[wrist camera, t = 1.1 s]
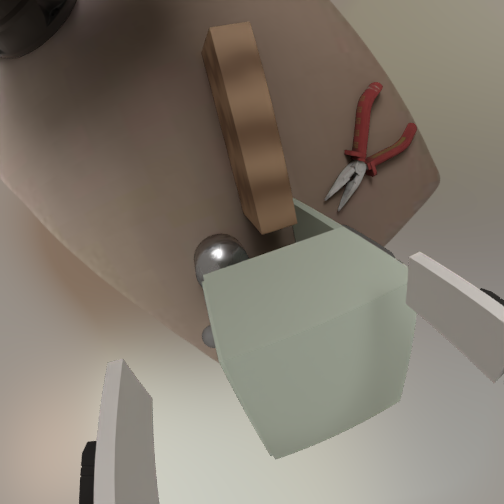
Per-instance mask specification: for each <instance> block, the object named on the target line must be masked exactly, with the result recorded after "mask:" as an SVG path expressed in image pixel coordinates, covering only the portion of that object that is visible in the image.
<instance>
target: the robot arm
mask: <svg viewBox="0 0 504 504" xmlns="http://www.w3.org/2000/svg"><path fill="white" fill-rule="evenodd" d="M75 2H76V0H0V57H3V58H9V59H10V58H17V57H20V56H23V55H25V54H28V53H29V52H31V51H33V50H35V49H36V48H38V47H39V46H41V45H42V44H43V43H44V42H46V41H47V40H48V39H49V38H50V37H51V36H52V35H53V34H54V33H55V32H56V31H57V30H58V29H59V28H60V27H61V25H62V24H63V23H64V22H65V20H66V19H67V17H68V16H69V14H70V12H71V11H72V9H73V7H74V4H75ZM406 304H407V305H408V306H409V307H410V308H411V309H413V310H414V311H415V312H416V313H417V314H418V315H420V316H421V317H422V318H423V319H424V320H426V321H427V322H428V323H429V324H430V325H431V326H432V327H434V328H435V329H436V330H437V331H438V332H439V333H440V334H441V335H443V336H444V337H445V338H446V339H447V340H448V341H449V342H450V343H451V344H453V345H454V346H455V347H456V348H457V349H458V350H459V351H460V352H461V353H463V354H464V355H465V356H466V357H467V358H468V359H469V360H470V361H471V362H472V363H473V364H474V365H475V366H476V367H477V368H478V369H480V370H481V371H482V372H483V373H484V374H485V375H486V376H487V377H488V378H489V379H490V380H491V381H492V382H493V383H495V382H496V381H497V380H498V379H499V378H500V377H501V376H502V375H503V374H504V300H503V299H500V297H498V296H497V295H496V294H494V293H493V292H491V291H488V290H485V289H482V288H481V289H478V288H477V287H475V286H474V285H472V284H471V283H469V282H468V281H466V280H464V279H463V278H462V277H460V276H459V275H457V274H455V273H454V272H452V271H451V270H449V269H448V268H446V267H444V266H443V265H441V264H439V263H438V262H436V261H434V260H433V259H431V258H430V257H428V256H426V255H425V254H423V253H421V252H418V253H416V254H414V255H412V256H410V257H409V265H408V281H407V294H406ZM152 411H153V409H152V397H151V396H150V395H149V393H148V392H147V391H146V389H145V388H144V387H143V386H142V384H141V383H140V382H139V380H138V379H137V378H136V376H135V375H134V373H133V372H132V371H131V370H130V368H129V366H128V365H127V364H126V362H125V361H124V359H119V360H115V361H111V362H108V363H107V369H106V374H105V380H104V386H103V392H102V400H101V406H100V415H99V422H98V431H97V441H91V442H87V444H86V447H85V449H84V451H83V453H82V462H81V466H82V468H81V474H80V475H81V477H80V495H79V504H159V498H158V489H157V479H156V468H155V454H154V438H153V412H152Z"/></svg>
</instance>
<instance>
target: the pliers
mask: <svg viewBox="0 0 504 504" xmlns="http://www.w3.org/2000/svg"><path fill="white" fill-rule="evenodd" d="M382 88H383V86H382V85H381V84H380V83H378V82H374V83H371V84H370V85H369V86H368V88H367V89H366V90H365V92H364V93H363V94H362V96H361V97H360V99H359V102H358V106H357V111H356V121H355V131H354V140H353V148H352V151H349V150H345V153H344V154H346V155H351V159H353V160H352V161H351V162H350V163H349V164H348V166H347V167H346V168H345V169H344V170H343V171H342V172H341V173H340V175H339V176H338V178H337V180H336V181H335V183H334V185H333V186H332V188H331V190H330V191H329V193H328V194H327V196H326V198H325V199H324V200H325V201H326V200H327V199H329V198H330V197H331V196H332V195H333V194H334V193H335V192H337V191H338V190H339V189H340V188H341V187H342V186H344V185H345V184H346V183H347V182H348V183H347V185H346V188H345V191H344V193H343V196H342V199H341V202H340V205H339V208H338V210H337V211H340V210H341V208H342V207H343V206H344V205H345V203H346V202H347V201H348V199H349V198H350V197H351V195H352V194H353V193H354V191H355V190H356V189H357V187H358V186H359V184H360V182H361V180H362V178H363V176H364V173H365V171H366V174H367V175H368V176H372V177H373V176H375V175H377V171H376V167H375V166H377V165H379V164H381V163H382V162H384V161H386V160H388V159H390V158H392V157H394V156H396V155H398V154H400V153H401V152H403V151H404V150H405V149H406V148H407V147H408V146H409V145H410V143H411V141H412V139H413V137H414V135H415V133H416V131H417V127H416V125H415V124H414V123H409V124H408V125H407V127H406V129H405V131H404V133H403V135H402V136H401V138H400V139H399V140H398V142H396V143H395V144H394V145H392V146H390V147H388V148H386V149H384V150H382V151H380V152H378V153H376V154H374V155H372V156H370V157H368V158H366V150H367V141H368V132H369V122H370V113H371V107H372V104H373V102H374V99H375V98H376V97H377V95H378V94H379V93H380V91H381V90H382ZM365 158H366V159H365ZM352 175H354V178H353V180H352V181H349V180H350V177H351V176H352Z"/></svg>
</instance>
